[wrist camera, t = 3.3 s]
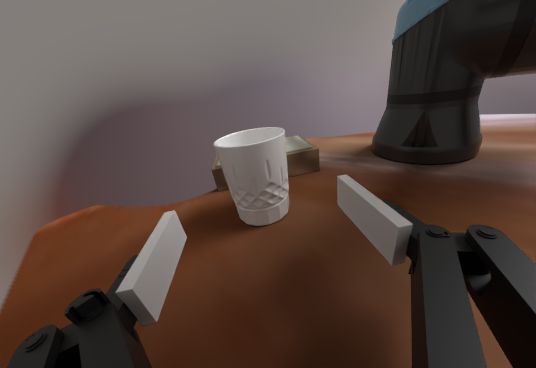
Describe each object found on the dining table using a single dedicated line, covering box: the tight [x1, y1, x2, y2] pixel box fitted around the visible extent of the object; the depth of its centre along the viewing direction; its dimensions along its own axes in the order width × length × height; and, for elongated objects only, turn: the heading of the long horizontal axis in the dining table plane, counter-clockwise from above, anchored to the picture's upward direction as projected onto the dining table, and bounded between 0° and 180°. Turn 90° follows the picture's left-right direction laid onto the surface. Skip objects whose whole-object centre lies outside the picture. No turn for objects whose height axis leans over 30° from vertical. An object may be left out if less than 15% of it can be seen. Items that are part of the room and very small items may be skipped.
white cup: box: [214, 127, 289, 226], centre depth 23 cm, size 8×8×10 cm
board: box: [212, 136, 320, 191], centre depth 37 cm, size 18×11×4 cm, turn 98°
